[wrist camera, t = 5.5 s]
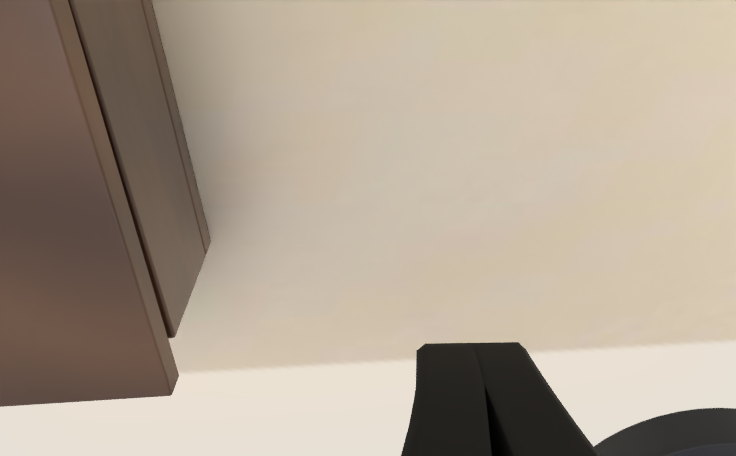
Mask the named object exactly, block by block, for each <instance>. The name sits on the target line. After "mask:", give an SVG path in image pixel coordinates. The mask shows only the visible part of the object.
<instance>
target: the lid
mask: <svg viewBox="0 0 736 456" xmlns="http://www.w3.org/2000/svg"><path fill="white" fill-rule="evenodd" d="M178 376H179V374H178V371H177V367H176V364H175V361H174V357H173V354H172V351H171V347H170V344H169V340H168V337H167V334H166V330H165V327H164V324H163V320H162V317H161V313H160V310H159V307H158V303H157V300H156V296H155V293H154V290H153V286H152V283H151V280H150V276H149V273H148V269H147V266H146V263H145V259H144V256H143V253H142V249H141V246H140V242H139V239H138V236H137V232H136V229H135V226H134V222H133V219H132V215H131V212H130V209H129V205H128V202H127V198H126V195H125V192H124V188H123V185H122V182H121V178H120V175H119V171H118V168H117V165H116V161H115V158H114V155H113V151H112V148H111V144H110V141H109V138H108V134H107V131H106V128H105V124H104V121H103V117H102V114H101V111H100V107H99V104H98V100H97V97H96V94H95V90H94V87H93V84H92V80H91V77H90V73H89V70H88V67H87V63H86V60H85V57H84V53H83V50H82V46H81V43H80V40H79V36H78V33H77V30H76V26H75V23H74V19H73V16H72V13H71V9H70V6H69V2H68V0H0V406H16V405H31V404H47V403H63V402H79V401H94V400H109V399H125V398H140V397H157V396H170V395H172V392H173V390H174V387H175V385H176V382H177V379H178Z"/></svg>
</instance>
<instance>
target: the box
mask: <svg viewBox="0 0 736 456" xmlns="http://www.w3.org/2000/svg"><path fill="white" fill-rule="evenodd" d="M68 2H69V6H70V9H71V13H72V16H73V19H74V23H75V26H76V30H77V33H78V36H79V40H80V43H81V46H82V50H83V53H84V57H85V60H86V63H87V67H88V70H89V73H90V77H91V80H92V84H93V87H94V90H95V94H96V97H97V100H98V104H99V107H100V111H101V114H102V117H103V121H104V124H105V128H106V131H107V134H108V138H109V141H110V144H111V148H112V151H113V155H114V158H115V161H116V165H117V168H118V171H119V175H120V178H121V182H122V185H123V188H124V192H125V195H126V198H127V202H128V205H129V209H130V212H131V215H132V219H133V222H134V226H135V229H136V232H137V236H138V239H139V242H140V246H141V249H142V253H143V256H144V259H145V263H146V266H147V269H148V273H149V276H150V280H151V283H152V286H153V290H154V293H155V296H156V300H157V303H158V307H159V310H160V313H161V317H162V320H163V324H164V327H165V330H166V334H167V337H168V338H173V337H175V335H176V333H177V330H178V327H179V325H180V322H181V319H182V317H183V314H184V311H185V309H186V306H187V304H188V301H189V298H190V296H191V293H192V290H193V288H194V285H195V282H196V280H197V277H198V275H199V272H200V269H201V267H202V264H203V261H204V259H205V254H206V253H207V250H208V248H209V245H210V238H209V234H208V230H207V226H206V222H205V218H204V214H203V210H202V206H201V202H200V197H199V193H198V189H197V185H196V181H195V177H194V173H193V169H192V165H191V161H190V157H189V153H188V149H187V145H186V141H185V137H184V133H183V129H182V125H181V121H180V116H179V112H178V108H177V104H176V100H175V96H174V92H173V88H172V84H171V80H170V76H169V72H168V68H167V64H166V60H165V56H164V52H163V48H162V44H161V40H160V35H159V31H158V27H157V23H156V19H155V15H154V11H153V7H152V3H151V0H68Z"/></svg>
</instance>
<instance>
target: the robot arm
mask: <svg viewBox="0 0 736 456" xmlns="http://www.w3.org/2000/svg"><path fill="white" fill-rule="evenodd" d="M416 367H417V368H416V391H415V398H414V403H413V408H412V414H411V419H410V424H409V428H408V432H407V436H406V439H405V443H404V447H403V451H402V455H401V456H600V455H599V453H598V452H597V451H596V449H595V448H594V447H593V446H592V444H591V443H590V442H589V441H588V439H587V438H586V436H585V435H584V434H583V432H582V431H581V430H580V428H579V427H578V426H577V425H576V423H575V422H574V420H573V419H572V417H571V416H570V415H569V413H568V412H567V410H566V409H565V408H564V406H563V405H562V403H561V402H560V401H559V399H558V398H557V396H556V395H555V394H554V392H553V391H552V389H551V388H550V386H549V385H548V383H547V382H546V380H545V379H544V377H543V376H542V374H541V373H540V371H539V370H538V368H537V367H536V365H535V364H534V362H533V361H532V359H531V358H530V356H529V354H528V353H527V351H526V349H525V348H524V347H522V346H521V345H520V344H519V343H518V342H512V343H445V344H425V345H423V346H422V347H421V348H420V349H418V350H417V366H416Z"/></svg>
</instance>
